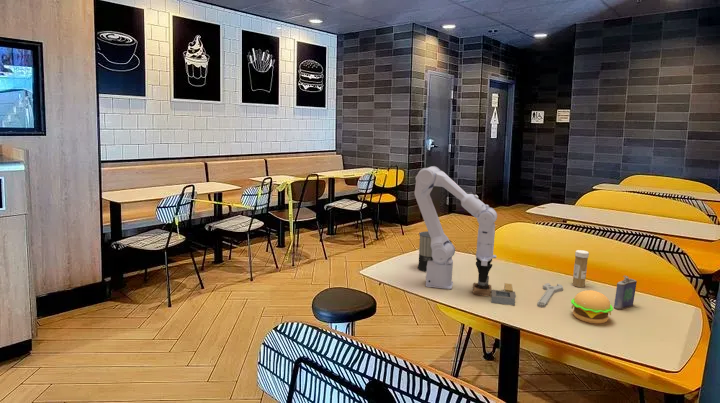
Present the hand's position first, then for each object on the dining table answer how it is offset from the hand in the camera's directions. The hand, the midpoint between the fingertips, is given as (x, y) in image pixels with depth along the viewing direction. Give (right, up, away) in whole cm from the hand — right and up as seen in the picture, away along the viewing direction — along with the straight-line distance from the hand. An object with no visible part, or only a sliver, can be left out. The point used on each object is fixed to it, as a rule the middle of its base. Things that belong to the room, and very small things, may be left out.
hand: (482, 279), depth 172 cm
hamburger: (+29, -9, -19) cm, 36 cm away
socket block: (+6, -6, -4) cm, 9 cm away
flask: (+45, -8, -8) cm, 47 cm away
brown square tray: (0, -5, +1) cm, 5 cm away
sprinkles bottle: (+39, -4, +11) cm, 41 cm away
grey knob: (0, -4, +1) cm, 4 cm away
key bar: (+9, -5, 0) cm, 10 cm away
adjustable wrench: (+22, -6, 0) cm, 23 cm away
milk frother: (-13, 0, +30) cm, 32 cm away
